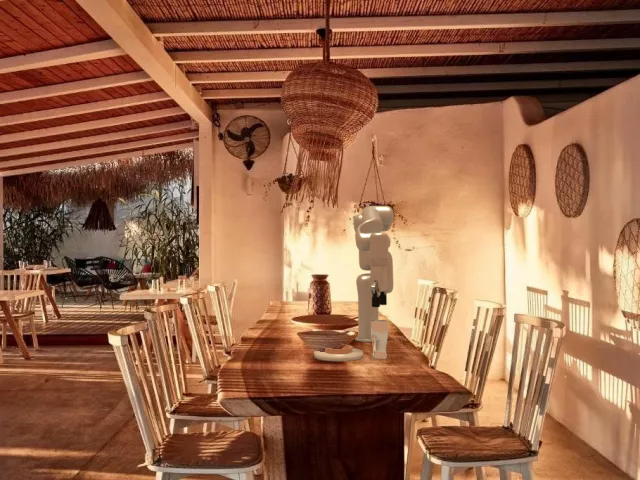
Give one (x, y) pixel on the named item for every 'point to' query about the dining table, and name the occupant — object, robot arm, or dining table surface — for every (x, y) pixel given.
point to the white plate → (339, 354)
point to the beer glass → (379, 338)
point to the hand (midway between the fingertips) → (379, 306)
